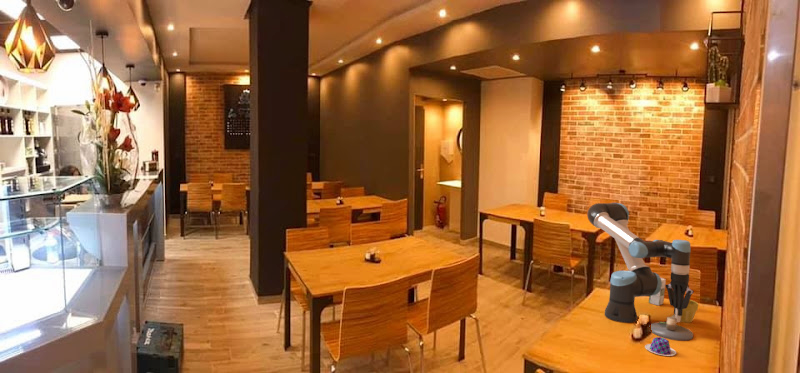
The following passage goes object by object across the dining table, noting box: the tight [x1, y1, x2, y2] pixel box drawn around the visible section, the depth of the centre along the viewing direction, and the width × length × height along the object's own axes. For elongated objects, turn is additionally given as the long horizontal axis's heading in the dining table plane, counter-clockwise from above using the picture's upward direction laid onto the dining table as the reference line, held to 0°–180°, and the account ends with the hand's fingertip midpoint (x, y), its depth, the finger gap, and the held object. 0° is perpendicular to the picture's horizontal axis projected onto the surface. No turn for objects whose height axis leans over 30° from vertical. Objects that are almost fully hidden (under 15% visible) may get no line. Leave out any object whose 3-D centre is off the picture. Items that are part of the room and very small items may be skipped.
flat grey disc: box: [651, 321, 694, 342], centre depth 230 cm, size 18×18×2 cm
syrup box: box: [648, 277, 667, 306], centre depth 271 cm, size 6×6×14 cm
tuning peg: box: [666, 313, 678, 330], centre depth 232 cm, size 10×4×5 cm, turn 140°
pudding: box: [644, 336, 677, 357], centre depth 210 cm, size 12×12×5 cm
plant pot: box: [680, 299, 699, 323], centre depth 247 cm, size 10×10×10 cm
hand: (677, 321), depth 232 cm, fingers closed
